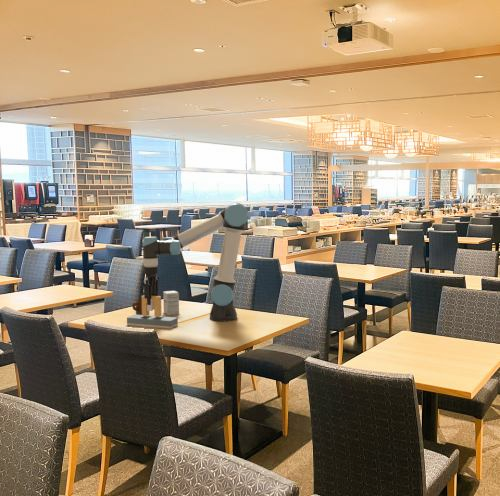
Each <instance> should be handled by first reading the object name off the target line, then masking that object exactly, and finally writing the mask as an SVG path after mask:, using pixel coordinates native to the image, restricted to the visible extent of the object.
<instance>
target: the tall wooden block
mask: <svg viewBox="0 0 500 496" xmlns="http://www.w3.org/2000/svg"><path fill="white" fill-rule="evenodd" d="M141 299H142V316H147V315H149V316H150V311H147V299H145V298H144V294H143V295H141ZM151 299H152V303H154V313H153V314H154V315H153V316H155V317H160V316H162V317H163V315H162V296H161V295H157V296H151Z"/></svg>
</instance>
